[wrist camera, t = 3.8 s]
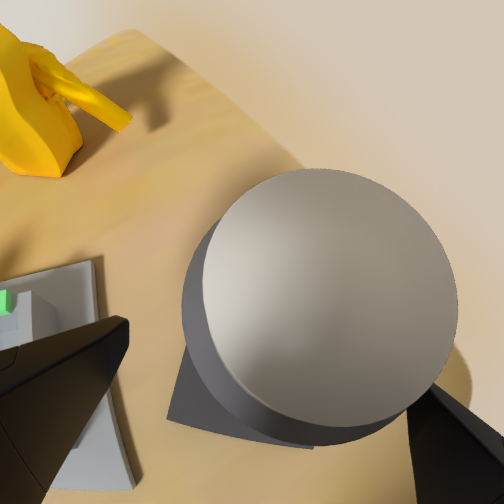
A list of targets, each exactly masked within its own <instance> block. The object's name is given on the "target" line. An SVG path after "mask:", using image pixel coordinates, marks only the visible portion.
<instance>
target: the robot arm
mask: <svg viewBox="0 0 504 504" xmlns="http://www.w3.org/2000/svg"><path fill="white" fill-rule="evenodd" d="M128 346H129V321H128V319H126V318H123V317H120V316H117V315H115V316H112V317H108V318H105V319H102V320H99V321H96V322H93V323H89V324H86V325H83V326H80V327H77V328H74V329H70V330H67V331H64V332H61V333H57V334H54V335H51V336H48V337H44V338H41V339H38V340H35V341H31V342H28V343H25V344H21V345H20V346H14V347H11V348H8V349H4V350H0V504H41V503H42V501H43V499H44V497H45V496H46V493H47V491H48V490H49V488H50V486H51V484H52V482H53V481H54V479H55V477H56V475H57V474H58V472H59V470H60V468H61V467H62V465H63V463H64V461H65V460H66V458H67V456H68V455H69V453H70V451H71V449H72V448H73V446H74V444H75V443H76V441H77V439H78V438H79V436H80V434H81V433H82V431H83V429H84V428H85V426H86V424H87V423H88V421H89V419H90V418H91V416H92V415H93V413H94V411H95V410H96V408H97V406H98V405H99V403H100V402H101V400H102V398H103V397H104V395H105V394H106V392H107V390H108V389H109V387H110V385H111V383H112V381H113V378H114V376H115V374H116V372H117V370H118V368H119V366H120V364H121V362H122V360H123V357H124V355H125V353H126V351H127V349H128ZM406 410H407V422H408V435H409V446H410V453H411V459H412V466H413V473H414V480H415V489H416V497H417V504H504V437H503V436H501V434H499V433H498V432H496V431H495V430H494V429H493V428H492V427H490V426H489V425H488V424H486V423H485V422H484V421H483V420H481V419H480V418H479V417H477V416H476V415H475V414H473V413H472V412H471V411H470V410H468V409H467V408H466V407H464V406H463V405H462V404H461V403H459V402H458V401H457V400H455V399H454V398H453V397H452V396H450V395H449V394H448V393H446V392H445V391H444V390H442V389H441V388H440V387H439V386H437V385H436V384H435V383H433V384H432V385H431V386H430V387H429V389H428V390H427V391H426V392H425V393H424V394H423V395H422V396H421V397H420V398H418V399H417V400H416V401H415V402H414V403H412V404H411V405H410V406H409V407H408V408H407V409H406Z"/></svg>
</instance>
